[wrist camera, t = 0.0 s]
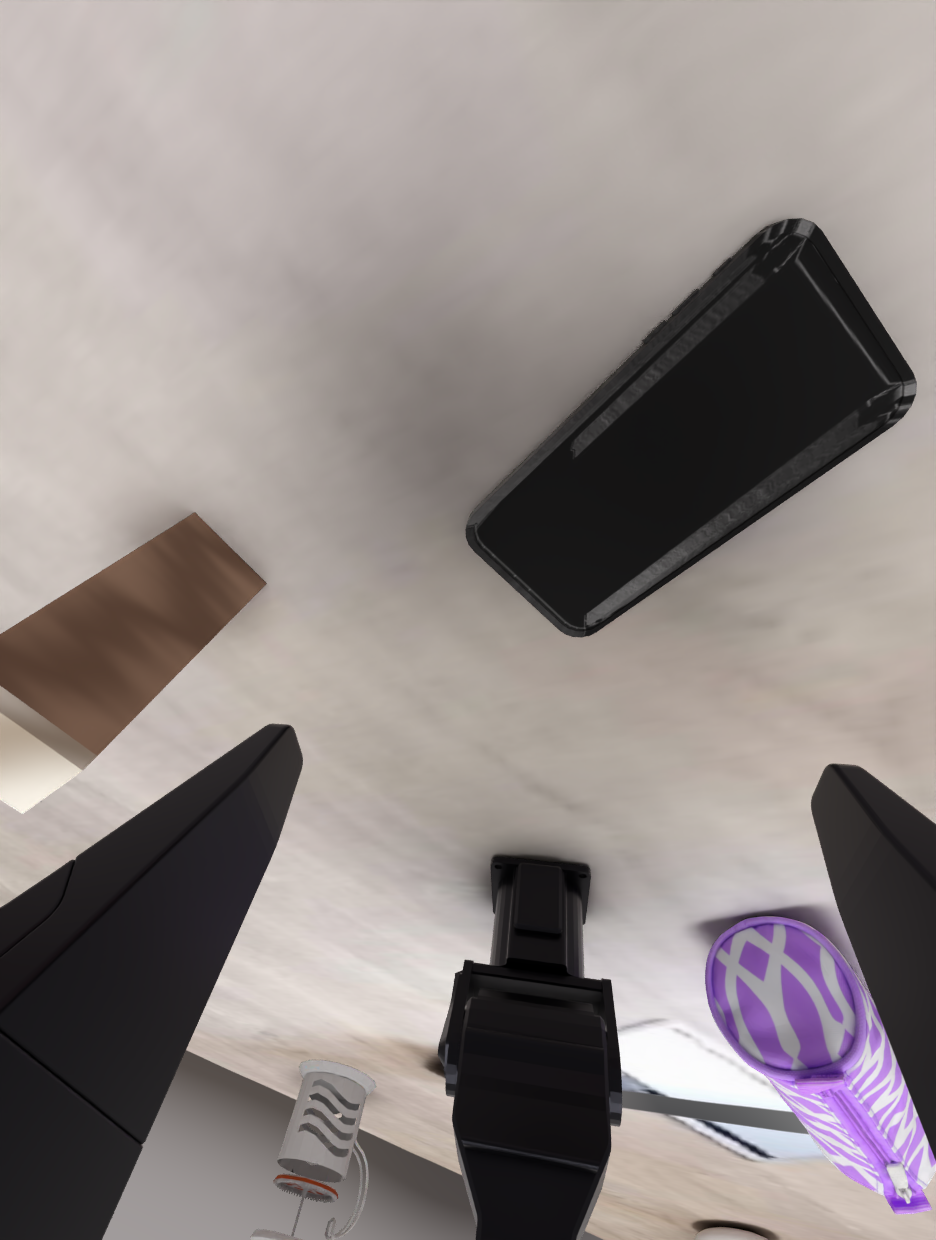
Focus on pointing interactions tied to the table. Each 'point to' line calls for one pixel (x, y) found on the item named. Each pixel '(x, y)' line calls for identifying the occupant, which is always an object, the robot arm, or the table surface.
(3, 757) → the walnut block
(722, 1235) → the flower in vase
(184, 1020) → the robot arm
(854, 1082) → the pencil case
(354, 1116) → the french press
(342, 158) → the table surface
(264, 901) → the table surface
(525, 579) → the phone
